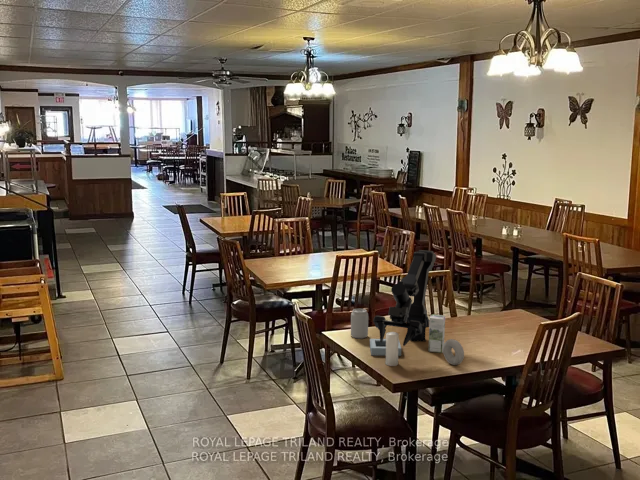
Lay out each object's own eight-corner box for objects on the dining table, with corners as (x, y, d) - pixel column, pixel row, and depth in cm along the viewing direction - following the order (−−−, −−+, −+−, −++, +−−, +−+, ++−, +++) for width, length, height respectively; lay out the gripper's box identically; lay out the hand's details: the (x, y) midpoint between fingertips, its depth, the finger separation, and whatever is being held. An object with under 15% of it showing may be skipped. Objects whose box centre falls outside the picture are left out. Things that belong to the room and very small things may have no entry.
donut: (440, 361, 247) (441, 336, 246) (447, 359, 249) (447, 335, 247) (459, 369, 239) (460, 343, 237) (465, 367, 241) (466, 342, 239)
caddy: (398, 345, 265) (398, 339, 265) (401, 355, 253) (401, 348, 253) (369, 345, 266) (369, 338, 265) (371, 355, 254) (371, 348, 253)
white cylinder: (397, 361, 247) (398, 331, 245) (398, 366, 242) (399, 335, 240) (385, 361, 247) (385, 331, 245) (385, 365, 242) (386, 335, 240)
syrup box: (444, 349, 262) (445, 314, 259) (442, 353, 256) (443, 318, 254) (430, 347, 264) (431, 313, 261) (428, 351, 258) (429, 317, 256)
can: (368, 334, 281) (368, 308, 279) (367, 339, 274) (368, 312, 272) (351, 333, 282) (351, 307, 280) (350, 339, 274) (350, 312, 272)
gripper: (375, 295, 249) (364, 330, 241) (421, 301, 241) (411, 336, 233) (381, 310, 258) (371, 344, 250) (426, 316, 250) (417, 351, 242)
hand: (392, 343), depth 243 cm, fingers open, 9 cm apart
